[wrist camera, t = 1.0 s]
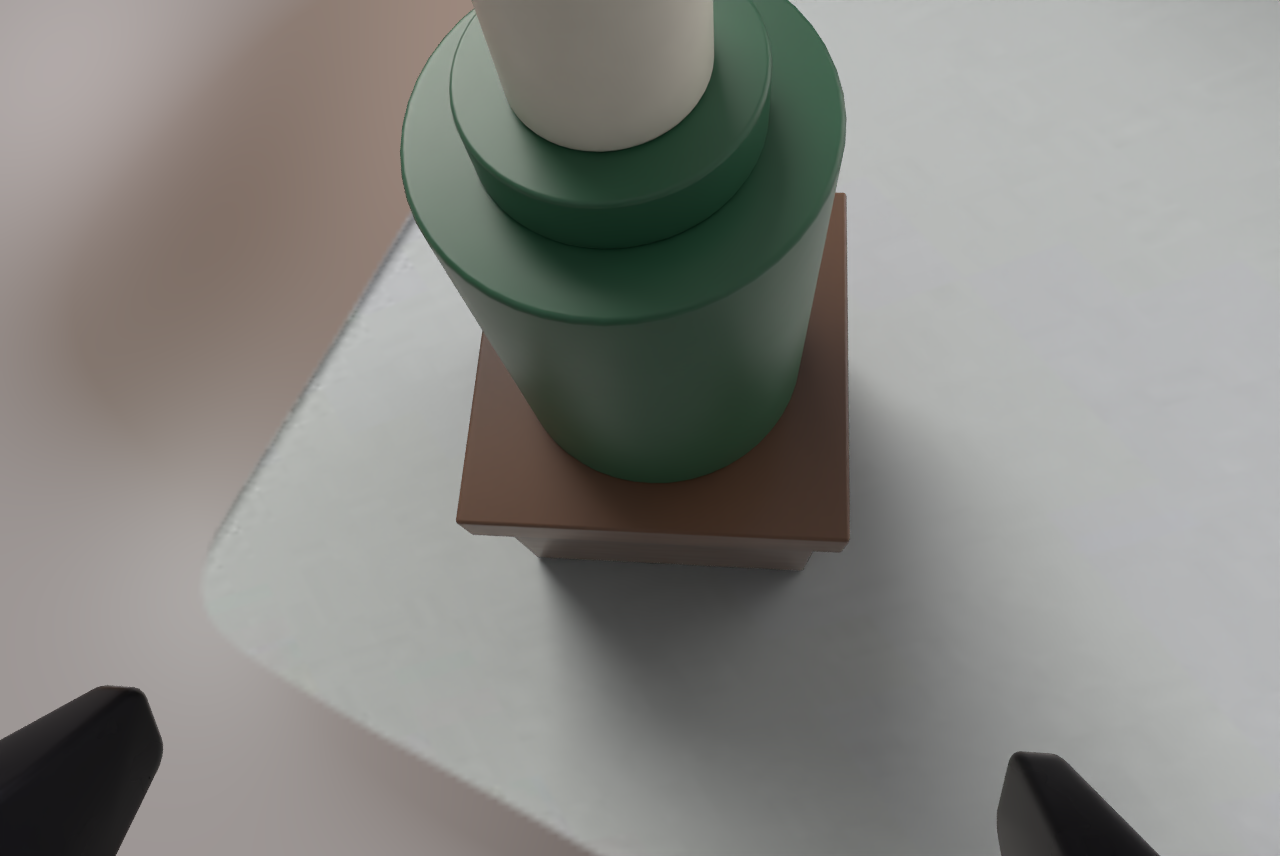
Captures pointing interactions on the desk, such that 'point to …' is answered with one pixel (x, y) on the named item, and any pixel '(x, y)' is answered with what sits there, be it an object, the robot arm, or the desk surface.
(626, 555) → the brown lidded box
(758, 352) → the bottle
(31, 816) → the robot arm
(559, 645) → the desk surface
